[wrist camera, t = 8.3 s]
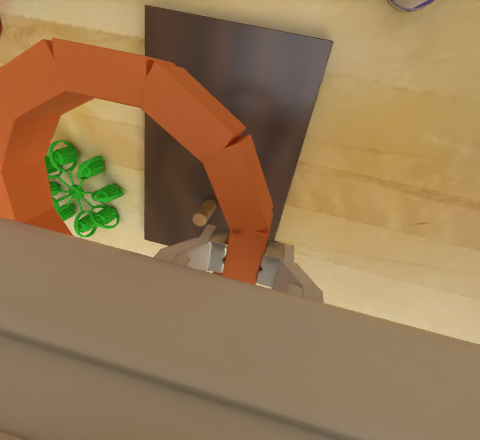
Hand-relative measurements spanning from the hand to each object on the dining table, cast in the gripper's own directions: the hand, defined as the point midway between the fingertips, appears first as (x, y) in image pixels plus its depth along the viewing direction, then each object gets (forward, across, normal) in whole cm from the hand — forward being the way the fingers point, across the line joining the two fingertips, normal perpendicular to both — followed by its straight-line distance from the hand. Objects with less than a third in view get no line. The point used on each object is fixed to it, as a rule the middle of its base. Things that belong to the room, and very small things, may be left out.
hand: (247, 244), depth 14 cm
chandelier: (+21, +28, +11) cm, 36 cm away
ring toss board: (+21, +7, +2) cm, 22 cm away
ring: (+1, +7, 0) cm, 7 cm away
